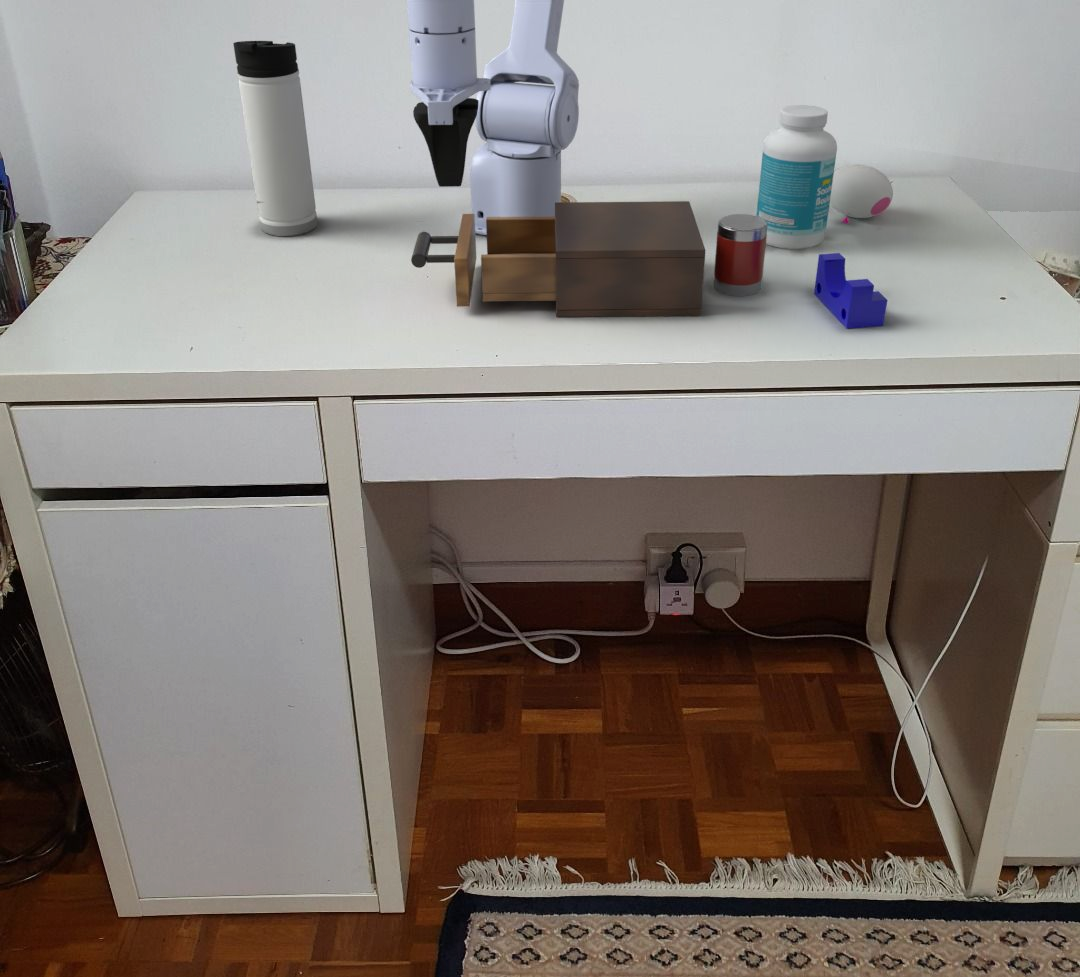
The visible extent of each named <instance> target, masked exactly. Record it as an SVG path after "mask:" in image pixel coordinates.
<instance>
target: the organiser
mask: <svg viewBox="0 0 1080 977" xmlns="http://www.w3.org/2000/svg"><path fill="white" fill-rule="evenodd" d="M555 242H556V301H555V316H556V318H578V317H579V318H581V317H583V318H584V317H585V318H586V317H587V318H589V317H591V318H592V317H595V318H596V317H694V316H695V317H699V316H701V315H702V304H703V303H702V302H703V292H704V291H703V290H704V279H705V278H704V277H705V265H706V251H707V250H706V247H705V244H704V241H703V238H702V235H701V233H700V229H699V226H698V222H697V220H696V217H695V215H694V212H693V208H692V206H691V202H690V201H688V200H679V201H677V200H676V201H675V200H674V201H673V200H672V201H671V200H669V201H665V200H664V201H662V200H661V201H573V202H571V201H569V202H568V201H565V202H562V201H561V202H555Z"/></svg>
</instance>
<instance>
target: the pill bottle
mask: <svg viewBox="0 0 1080 977" xmlns="http://www.w3.org/2000/svg"><path fill="white" fill-rule="evenodd" d="M828 113H829V112H828V110H827V109H825V108H823V107H821V106H820V107H819V106H815V105H806V104H796V105H795V104H794V105H787V106H783V107H782V108H781V109H780V113H779V125H780V127H779V128H777V129H774V130H772V131H770V132H769V133H768V135H767V136H766V137H765V139H764V141H763V145H762V156H761V166H760V176H759V186H758V194H757V195H758V196H757V206H756V215H755V216H758V217H761V218H763V219H764V220H765V221H766V222H767V224H768V225H767V238H766V245H768V246H770V247H775V248H779V249H789V250H798V249H799V250H801V249H809V248H813V247H815V246H817V245H819V244H821V243H822V242H823V241H824V239H825V237H826V231H827V226H828V219H829V218H828V217H829V210H830V197H831V189H832V182H833V175H834V171H835V166H836V159H837V152H838V144H837V140H836V138H835V137H834V136H833V134H831V133H830V132H828V131H826V130H824V128H825V127H826V125H827V123H828V115H829V114H828Z"/></svg>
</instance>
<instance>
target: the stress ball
mask: <svg viewBox="0 0 1080 977" xmlns="http://www.w3.org/2000/svg"><path fill="white" fill-rule="evenodd" d="M893 182H894V180H892V181H890V179H889V178H888V177H887V175H885V174H884V173H883V172H882V171H880V170H879V169H877V168H875V167H873V166H869V165H866V164H858V163H856V164H848V165H844V166H841V167H839V168H837V169H834V175H833V182H832V189H831V197H830V204H829V206H831V207H832V208H833V209H834V210H835V211H837V213H840V214H842V215H844V216H846V217H845V218H844V219H843V220H841V221H840V223H843V224H848V225H850V222H849V219H848V217H850V218H855V219H866V218H873V217H875V216H877V215H880V214H881V213H883V212H885V211H886V210H887V209H888V207H889V206H890V205H891V203H892V201H893V197H894V189H893V185H892V183H893Z"/></svg>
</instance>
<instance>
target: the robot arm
mask: <svg viewBox="0 0 1080 977" xmlns="http://www.w3.org/2000/svg"><path fill="white" fill-rule="evenodd" d="M564 3H565V0H514V6H513V15H512V22H511V31H510V37H509V45H508V47H507V48H505V49H504V50H503V51H502V52H500V53H499V54H498V55H495V57H493V58H492V59H491V60H489V61H488V62H487V63H486V64H485V65H484V70H483V75H482V77H478V64H477V43H476V42H477V40H476V38H477V37H476V16H475V0H406V8H407V10H406V12H407V23H408V38H409V53H410V65H411V66H410V67H411V78H412V79H411V81H410V82H409V84H410V92H411V94H412V95H414V96H415V97H416V99H418V100H419V101H420V102H417V104H416V105H415V106H414V108H413V111H412V112H413V113H412V114H413V120H414V121H415V124H416V125H417V127H418V128H419V130H420V131H421V133H422V136H423V138H424V141H425V143H426V146H427V148H428V151H429V155H430V159H431V164H432V166H433V167H432V169H433V171H434V175H435V179H436V182H437V184H438V187H440V188H442V187H444V188H448V187H449V188H450V187H451V188H452V187H454V188H455V187H461V186H462V184H463V180H464V173H465V168H466V167H465V166H466V158H467V149H468V141H469V137H470V133H471V130H472V128H473V126H474V127H475V129H476V132H477V133H478V135H479V138H480V139H481V140H482V141H484V142H486V143H483V144H481V145H480V146H479V147H478V148H477V150H476V151H475V152H474V154H473V156H472V160H471V163H470V170H469V185H470V186H469V187H470V188H469V189H470V204H471V205H470V207H471V208H470V209H471V210H470V212H471V214H475V234H479V235H483V236H487V232H486V218H487V217H547V216H555V202H562V151H564V150H566V149H567V148H568V147H569V145H570V144H571V143H572V142H573V140H574V139H575V136H576V134H577V130H578V126H579V117H580V116H579V115H580V110H579V109H580V108H579V90H580V89H579V88H580V84H579V82H580V81H579V78H578V76H577V74H576V72H575V71H574V70H573V69H572V67H570V66H569V65H568V63H567V62H566V61H565V60H564V59H563V58H562V57H561V56H560V55H559V54H558V46H559V39H560V32H561V26H562V25H561V24H562V18H563V10H564V5H565V4H564ZM475 94H476V95H475ZM472 96H476V97H475V98H472Z"/></svg>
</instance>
